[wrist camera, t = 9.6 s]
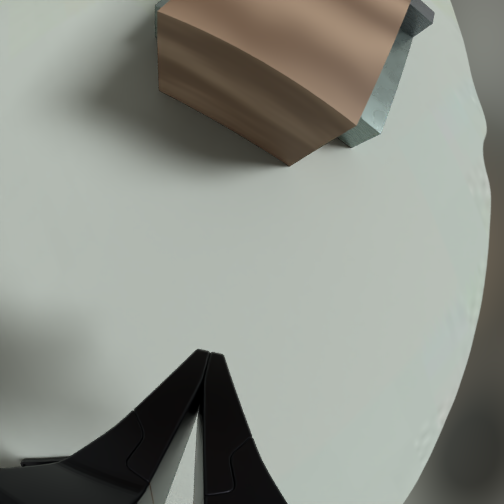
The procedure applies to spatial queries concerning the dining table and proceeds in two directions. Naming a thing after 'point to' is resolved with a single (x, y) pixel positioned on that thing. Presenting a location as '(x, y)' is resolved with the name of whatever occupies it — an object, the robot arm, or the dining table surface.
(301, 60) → the workpiece block
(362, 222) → the dining table surface
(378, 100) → the vise
